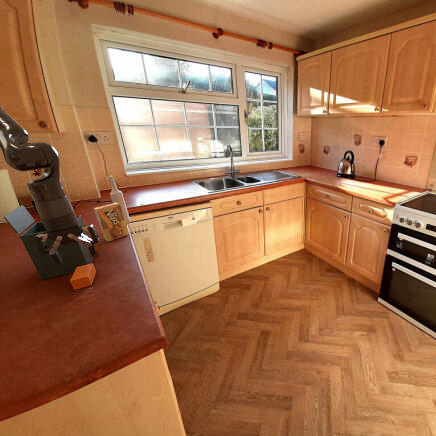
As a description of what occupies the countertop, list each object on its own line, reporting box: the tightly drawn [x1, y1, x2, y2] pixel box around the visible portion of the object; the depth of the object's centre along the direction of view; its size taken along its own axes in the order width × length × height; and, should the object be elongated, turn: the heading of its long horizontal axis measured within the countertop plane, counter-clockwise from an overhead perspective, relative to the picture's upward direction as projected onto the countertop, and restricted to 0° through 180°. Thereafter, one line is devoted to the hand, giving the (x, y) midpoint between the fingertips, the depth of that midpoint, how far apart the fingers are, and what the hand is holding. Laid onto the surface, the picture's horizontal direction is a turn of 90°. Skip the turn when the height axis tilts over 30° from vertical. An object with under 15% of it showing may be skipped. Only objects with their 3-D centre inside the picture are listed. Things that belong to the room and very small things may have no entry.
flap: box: [3, 204, 36, 236], centre depth 80 cm, size 6×13×1 cm
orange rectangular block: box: [69, 262, 97, 291], centre depth 81 cm, size 4×9×4 cm, turn 29°
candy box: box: [93, 202, 130, 242], centre depth 109 cm, size 9×4×15 cm, turn 145°
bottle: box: [107, 175, 132, 225], centre depth 123 cm, size 5×5×25 cm
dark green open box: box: [19, 215, 95, 280], centre depth 88 cm, size 13×13×16 cm
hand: (77, 259), depth 79 cm, fingers open, 8 cm apart
